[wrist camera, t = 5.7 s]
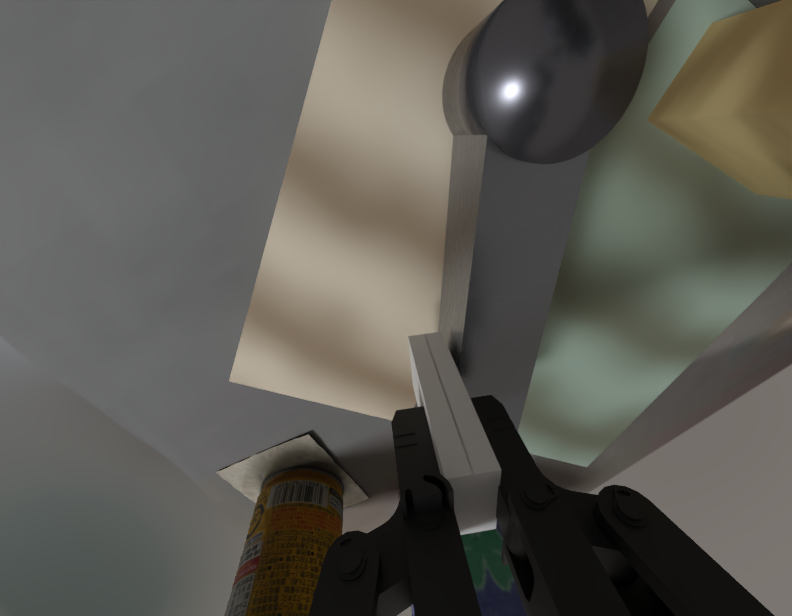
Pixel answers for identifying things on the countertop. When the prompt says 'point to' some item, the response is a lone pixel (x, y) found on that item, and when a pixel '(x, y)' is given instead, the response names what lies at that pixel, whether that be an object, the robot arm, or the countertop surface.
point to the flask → (491, 574)
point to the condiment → (287, 526)
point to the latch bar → (524, 171)
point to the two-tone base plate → (589, 233)
